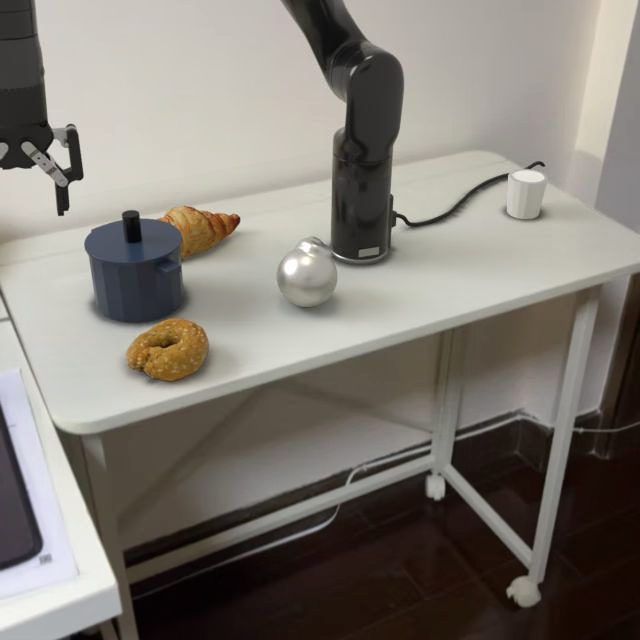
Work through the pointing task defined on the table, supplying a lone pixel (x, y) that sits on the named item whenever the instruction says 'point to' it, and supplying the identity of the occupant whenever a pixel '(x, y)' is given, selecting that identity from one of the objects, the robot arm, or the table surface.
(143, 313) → the pot
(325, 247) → the silver round bulb
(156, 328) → the bagel
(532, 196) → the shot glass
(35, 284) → the table surface
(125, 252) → the pot lid
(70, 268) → the table surface
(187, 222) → the croissant
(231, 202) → the table surface
